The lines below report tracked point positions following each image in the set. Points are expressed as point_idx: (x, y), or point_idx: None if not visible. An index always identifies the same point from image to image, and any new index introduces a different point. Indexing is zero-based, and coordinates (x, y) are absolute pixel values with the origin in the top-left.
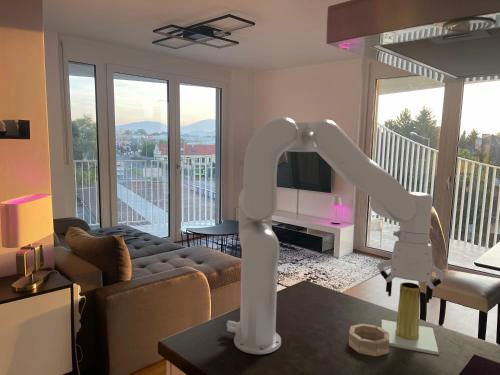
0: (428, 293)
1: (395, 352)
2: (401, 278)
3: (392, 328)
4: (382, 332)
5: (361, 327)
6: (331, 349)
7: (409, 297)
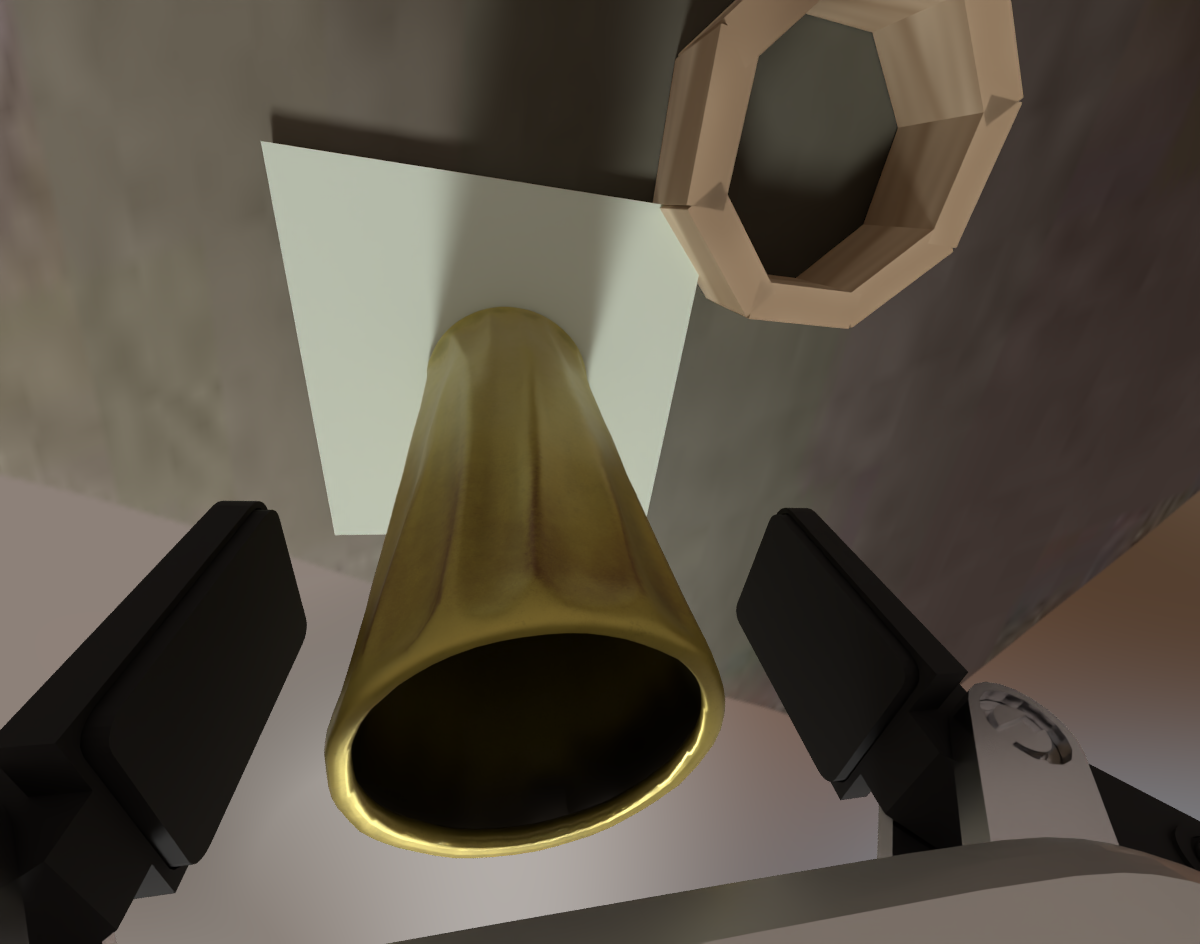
0: (132, 627)
1: (618, 90)
2: (928, 856)
3: None
4: (735, 214)
5: (866, 274)
6: (1073, 4)
7: (548, 490)
